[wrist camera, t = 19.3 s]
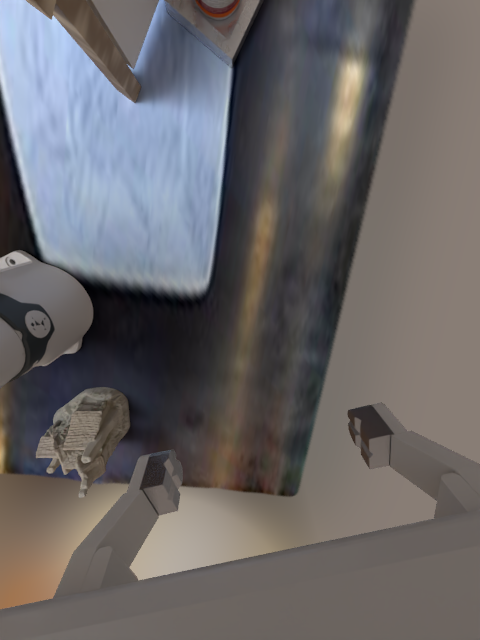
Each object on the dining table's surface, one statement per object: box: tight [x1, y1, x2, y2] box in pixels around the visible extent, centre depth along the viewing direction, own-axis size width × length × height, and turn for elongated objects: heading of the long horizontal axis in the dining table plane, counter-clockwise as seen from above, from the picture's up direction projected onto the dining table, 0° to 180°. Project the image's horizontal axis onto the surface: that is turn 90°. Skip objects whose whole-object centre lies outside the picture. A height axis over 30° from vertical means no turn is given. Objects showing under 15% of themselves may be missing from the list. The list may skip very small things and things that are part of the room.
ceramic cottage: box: [36, 387, 130, 498], centre depth 47 cm, size 16×16×15 cm
